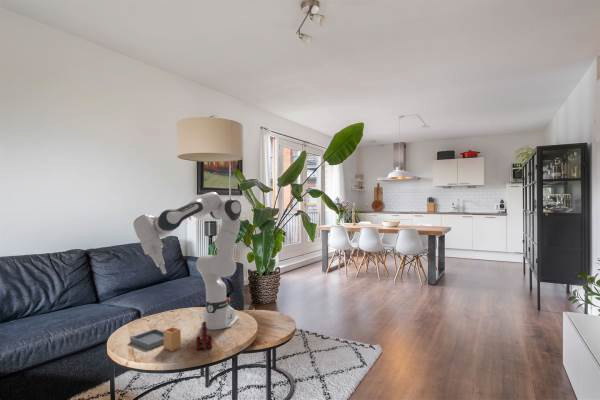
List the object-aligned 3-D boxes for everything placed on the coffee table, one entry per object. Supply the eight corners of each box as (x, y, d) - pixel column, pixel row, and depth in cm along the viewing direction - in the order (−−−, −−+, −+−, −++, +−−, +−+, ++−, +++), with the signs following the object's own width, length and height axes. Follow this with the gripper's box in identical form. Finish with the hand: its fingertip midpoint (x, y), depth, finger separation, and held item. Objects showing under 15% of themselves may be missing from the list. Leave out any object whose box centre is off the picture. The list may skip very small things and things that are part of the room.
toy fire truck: (196, 353, 160) (196, 330, 160) (196, 342, 172) (196, 321, 172) (212, 351, 162) (211, 328, 162) (211, 340, 174) (211, 320, 174)
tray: (130, 342, 172) (130, 337, 172) (155, 333, 183) (155, 328, 183) (148, 349, 163) (148, 344, 163) (173, 340, 175) (173, 335, 175)
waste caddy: (163, 349, 164) (163, 330, 164) (172, 345, 168) (172, 326, 168) (171, 352, 161) (171, 332, 161) (180, 348, 165) (180, 329, 165)
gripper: (158, 241, 158) (171, 268, 157) (160, 247, 177) (171, 271, 176) (144, 247, 156) (157, 275, 155) (147, 252, 174) (158, 277, 173)
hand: (164, 273), depth 165 cm, fingers open, 8 cm apart
